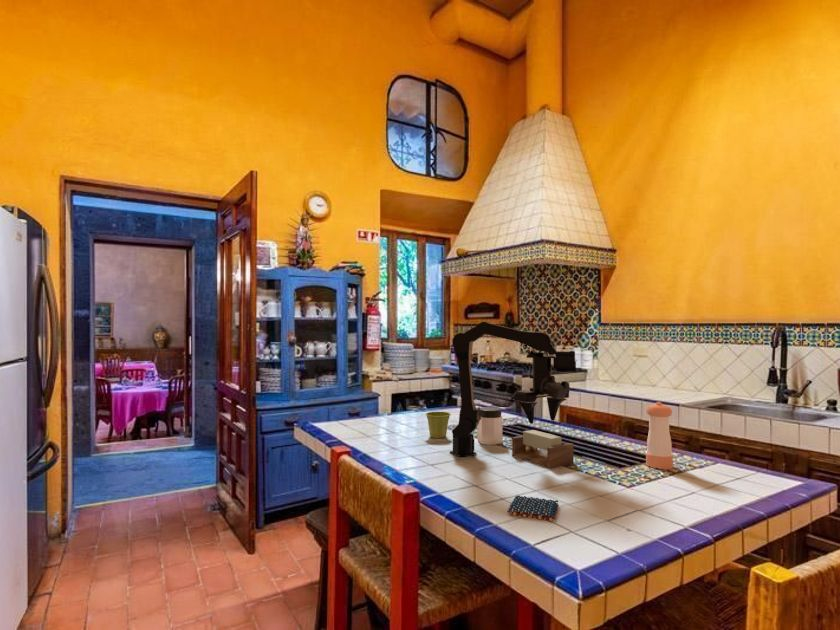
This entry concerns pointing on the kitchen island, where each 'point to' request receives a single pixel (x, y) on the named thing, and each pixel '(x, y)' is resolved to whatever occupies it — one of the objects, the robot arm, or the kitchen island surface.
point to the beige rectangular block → (540, 439)
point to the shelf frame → (543, 453)
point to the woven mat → (533, 508)
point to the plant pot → (438, 423)
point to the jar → (490, 426)
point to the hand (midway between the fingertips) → (542, 421)
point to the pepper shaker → (659, 437)
